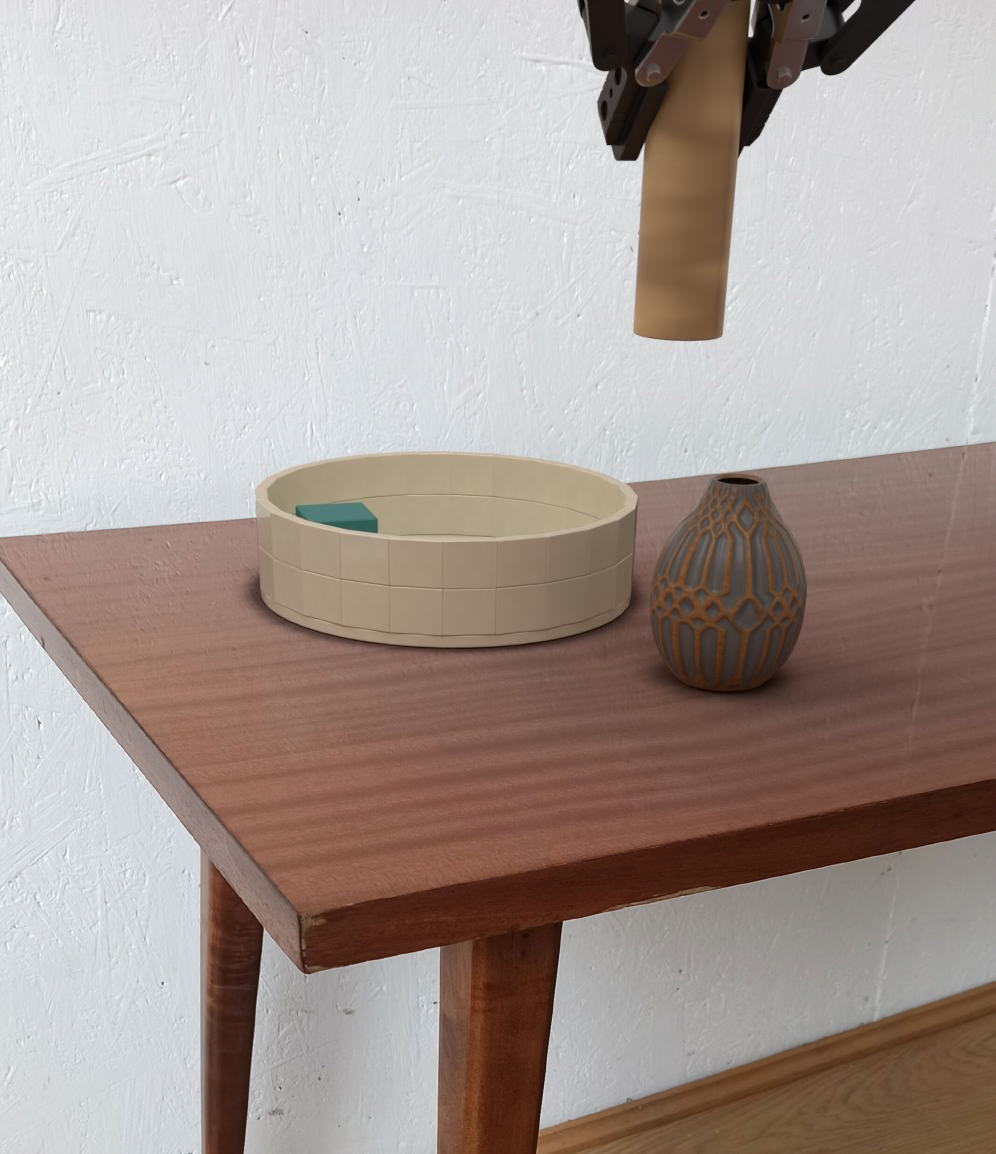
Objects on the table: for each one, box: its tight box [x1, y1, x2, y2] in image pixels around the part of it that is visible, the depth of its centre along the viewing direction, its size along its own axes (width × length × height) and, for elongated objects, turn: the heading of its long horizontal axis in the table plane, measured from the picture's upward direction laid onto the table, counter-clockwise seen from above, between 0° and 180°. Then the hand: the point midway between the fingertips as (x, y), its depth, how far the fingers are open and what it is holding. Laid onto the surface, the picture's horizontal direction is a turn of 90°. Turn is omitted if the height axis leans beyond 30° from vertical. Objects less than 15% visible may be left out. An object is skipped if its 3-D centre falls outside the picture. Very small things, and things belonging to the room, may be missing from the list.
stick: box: [632, 0, 752, 342], centre depth 62 cm, size 3×3×14 cm
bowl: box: [254, 450, 639, 649], centre depth 88 cm, size 19×19×5 cm
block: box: [295, 502, 378, 534], centre depth 87 cm, size 4×4×4 cm
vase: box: [649, 473, 808, 692], centre depth 76 cm, size 7×7×9 cm
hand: (669, 139), depth 63 cm, fingers closed on stick, 3 cm apart
